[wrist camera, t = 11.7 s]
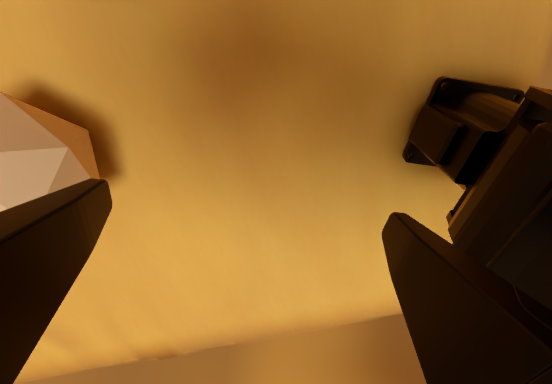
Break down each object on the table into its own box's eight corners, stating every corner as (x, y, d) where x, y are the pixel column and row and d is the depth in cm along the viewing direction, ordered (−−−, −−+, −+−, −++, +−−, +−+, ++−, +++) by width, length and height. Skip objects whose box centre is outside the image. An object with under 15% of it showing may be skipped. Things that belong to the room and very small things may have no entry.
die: (22, 181, 24) (36, 278, 19) (-124, 113, 16) (-154, 248, 12) (107, 132, 25) (139, 215, 20) (7, 44, 17) (23, 148, 13)
